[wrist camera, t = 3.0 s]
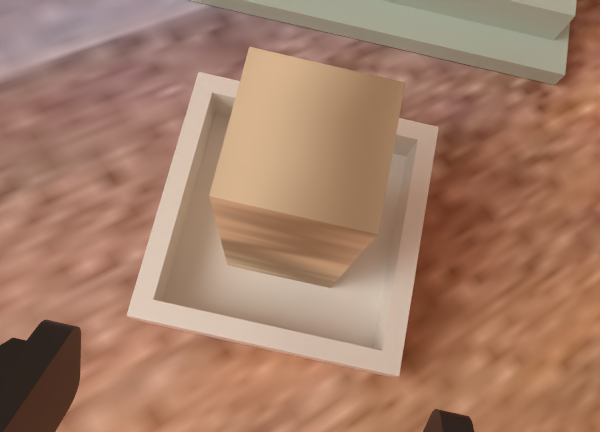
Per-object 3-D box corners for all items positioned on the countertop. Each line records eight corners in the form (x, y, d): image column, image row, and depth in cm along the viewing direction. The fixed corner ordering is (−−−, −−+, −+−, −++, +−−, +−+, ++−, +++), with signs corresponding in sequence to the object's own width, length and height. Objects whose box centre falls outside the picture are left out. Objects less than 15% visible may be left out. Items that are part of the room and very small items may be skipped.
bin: (139, 321, 24) (126, 315, 22) (203, 98, 27) (198, 71, 24) (384, 375, 24) (398, 376, 22) (422, 148, 27) (438, 127, 25)
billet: (227, 265, 24) (208, 196, 15) (252, 165, 26) (250, 42, 16) (330, 288, 24) (378, 234, 15) (350, 187, 26) (406, 78, 16)
